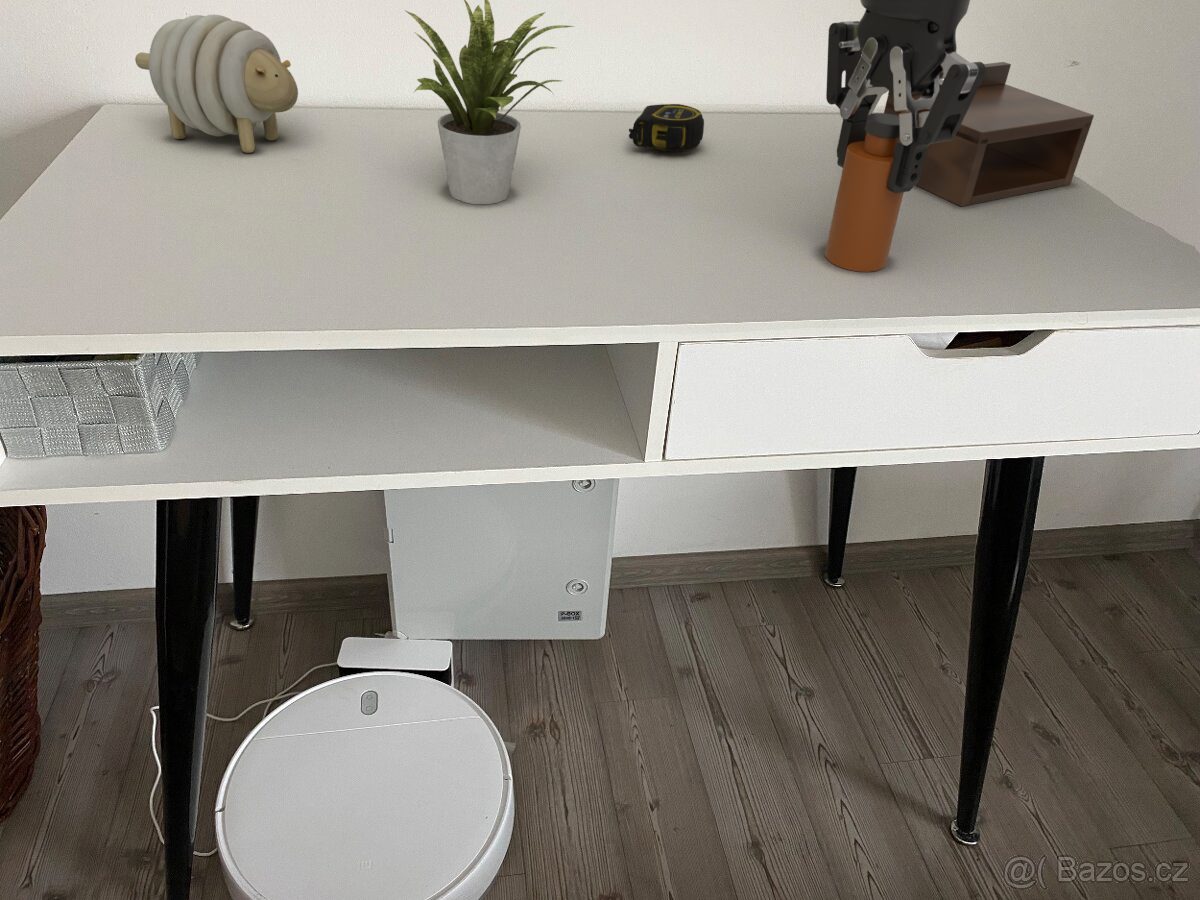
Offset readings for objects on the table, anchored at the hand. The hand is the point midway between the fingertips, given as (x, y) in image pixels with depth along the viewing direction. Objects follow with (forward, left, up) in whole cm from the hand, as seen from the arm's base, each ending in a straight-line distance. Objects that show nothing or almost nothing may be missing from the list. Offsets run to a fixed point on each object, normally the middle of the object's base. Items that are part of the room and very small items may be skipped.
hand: (873, 177), depth 80 cm
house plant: (+23, +22, -7) cm, 33 cm away
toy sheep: (+46, +39, -7) cm, 61 cm away
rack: (+11, -26, -7) cm, 29 cm away
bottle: (0, 0, -7) cm, 7 cm away
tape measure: (+29, 0, -7) cm, 30 cm away
